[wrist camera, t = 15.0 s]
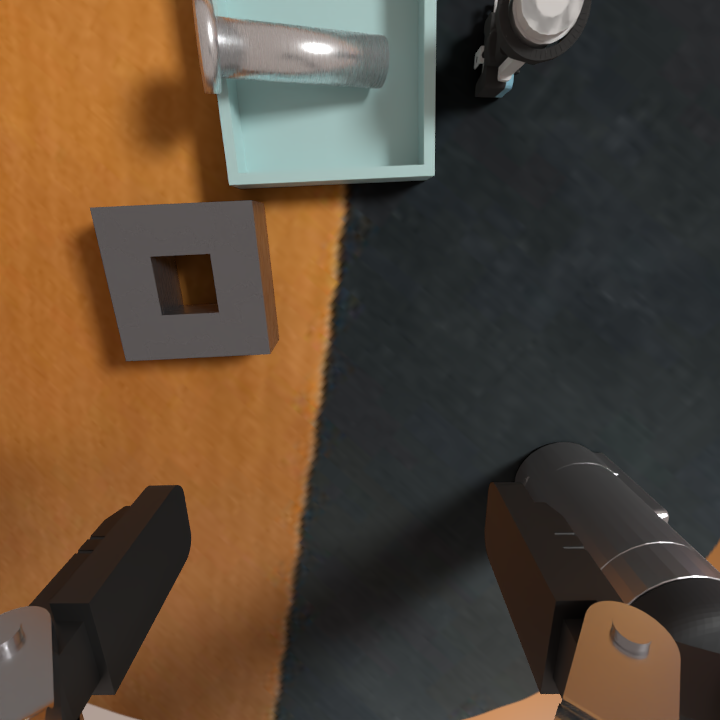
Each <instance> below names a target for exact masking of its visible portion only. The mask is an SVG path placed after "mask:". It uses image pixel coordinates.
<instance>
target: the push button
mask: <svg viewBox="0 0 720 720" xmlns="http://www.w3.org/2000/svg"><path fill="white" fill-rule="evenodd" d="M590 8H591V0H495V4H494V12H491V13H490V15H489V16H488V18H487V19H486V21H485V25H484V34H485V39H484V46H481V47H480V48H479V50H478V51H477V52H476V54H475V62H474V70H476V68H477V67H478V66H479V64H482V71H481V76H480V78H479V79H478V81H477V83H476V86H475V97H492V98H495V97H499V98H502V97H503V96H504V95H505V94H506V93H507V92H508V91H510V90H511V88H512V85H513V77H514V75H517V74H518V73H519V72H520V67H521V66H522V65H523V64H524V63H528V64H531V65H534V64H537V63H540V62H545V61H549V60H552V59H554V58H556V57H558V56H559V55H561V54H562V53H564V52H565V51H566V50H567V49H568V48H570V47H571V46H572V45H573V44H574V42H575V41H576V40H577V39H578V37H579V36H580V34H581V33H582V31H583V29H584V27H585V25H586V22H587V20H588V17H589V13H590ZM560 38H561V39H560ZM558 39H560V40H559V42H558V43H557V44H556V45H554V46H552V47H549V48H545V47H546V46H547V45H549V44H550V43H553V42H555V41H557V40H558ZM477 57H478V58H477ZM476 61H477V63H476Z"/></svg>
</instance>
